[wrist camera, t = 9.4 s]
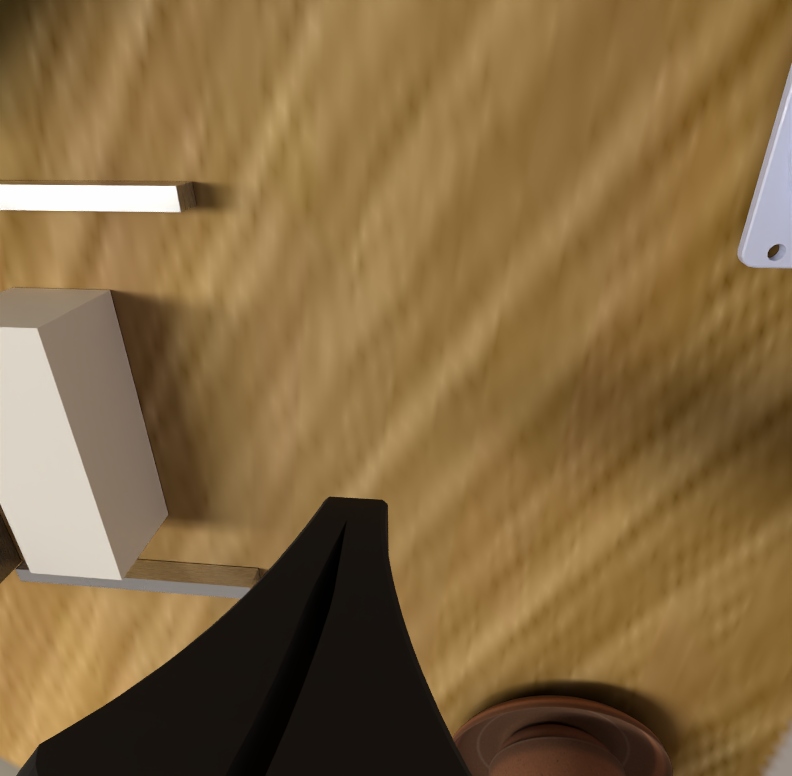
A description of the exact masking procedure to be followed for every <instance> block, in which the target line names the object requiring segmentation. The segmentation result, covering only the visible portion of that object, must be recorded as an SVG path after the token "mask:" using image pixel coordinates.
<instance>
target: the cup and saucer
mask: <svg viewBox="0 0 792 776" xmlns="http://www.w3.org/2000/svg"><path fill="white" fill-rule="evenodd" d="M453 740H454V743H455V744H456V746H457V748H458V750H459V752H460V754H461V756H462V758H463V760H464V762H465V763H466V765H467V767H468V769H469V771H470V773H471V774H472V776H673V768H672V763H671V760H670V758H669V756H668V754H667V752H666V750H665V748H664V746H663V745H662V743H661V742H660V740H659V739H658V738H657V736H656V735H655V734H654V733H653V732H652V731H651V730H650V729H648V728H647V727H646V726H645V725H643V724H642V723H640V722H639V721H637V720H636V719H634V718H632V717H631V716H629V715H627V714H625V713H623V712H622V711H620V710H617V709H615V708H613V707H611V706H608V705H605V704H602V703H599V702H595V701H592V700H587V699H583V698H577V697H570V696H555V695H545V696H530V697H524V698H518V699H513V700H509V701H506V702H503V703H499V704H497V705H494V706H492V707H490V708H487V709H485V710H483V711H482V712H480V713H478V714H477V715H475V716H474V717H473V718H471V719H470V720H469V721H468V722H467V723H465V724H464V725H463V726H462V727H461V728H460V729H459V730H458V731H457V732H456V733H455V735H454V736H453Z"/></svg>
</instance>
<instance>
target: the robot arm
mask: <svg viewBox="0 0 792 776" xmlns="http://www.w3.org/2000/svg"><path fill="white" fill-rule="evenodd" d="M776 244H779V251H778V252H777V254H776V255H774V256H773V257H770V258H768V257H767V255H768V251H769V249H770V248H771V247H772V246H774V245H776ZM738 258H739V260H740V261H741V262H742V263H743V264H745V265H747V266H749V267H754V268H792V64H791V67H790V71H789V74H788V78H787V81H786V85H785V88H784V92H783V95H782V99H781V102H780V106H779V109H778V112H777V116H776V119H775V123H774V126H773V130H772V133H771V137H770V140H769V144H768V147H767V151H766V154H765V157H764V161H763V164H762V168H761V171H760V175H759V178H758V182H757V185H756V189H755V192H754V195H753V199H752V202H751V206H750V209H749V213H748V216H747V220H746V223H745V227H744V230H743V234H742V237H741V240H740V244H739V247H738ZM17 776H472V774H471V773H470V771H469V769H468V767H467V765H466V763H465V762H464V760H463V758H462V756H461V754H460V752H459V750H458V748H457V746H456V744H455V743H454V740H453V738H452V736H451V734H450V732H449V730H448V728H447V726H446V724H445V722H444V720H443V718H442V716H441V714H440V712H439V709H438V707H437V705H436V702H435V700H434V698H433V696H432V693H431V691H430V689H429V686H428V684H427V682H426V679H425V677H424V675H423V672H422V670H421V667H420V665H419V662H418V659H417V657H416V654H415V651H414V649H413V646H412V643H411V640H410V637H409V634H408V631H407V629H406V625H405V622H404V619H403V616H402V612H401V609H400V605H399V601H398V598H397V594H396V590H395V586H394V582H393V577H392V572H391V567H390V561H389V555H388V504H387V503H386V502H384V501H383V500H375V499H359V498H343V497H328V498H327V499H326V500H325V501H324V502H323V504H322V505H321V507H320V508H319V509H318V511H317V512H316V513H315V515H314V516H313V517H312V519H311V520H310V521H309V523H308V524H307V525H306V527H305V528H304V529H303V530H302V532H301V533H300V534H299V535H298V537H297V538H296V539H295V540H294V541H293V543H292V544H291V545H290V546H289V547H288V549H287V550H286V551H285V552H284V553H283V554H282V556H281V557H280V558H279V559H278V560H277V561H276V563H275V564H274V565H273V566H272V567H271V568H270V569H269V570H268V571H267V572H266V573H265V574H264V576H263V577H262V578H261V579H260V580H259V581H258V582H257V583H256V584H255V585H254V586H253V587H252V588H251V589H250V590H249V591H248V592H247V593H246V594H245V595H244V596H243V597H242V598H241V599H240V600H239V601H238V602H237V603H236V604H235V605H234V606H233V607H232V608H231V609H230V610H229V611H228V612H227V613H225V614H224V615H223V616H222V617H221V618H220V619H219V620H218V621H217V622H215V623H214V624H213V625H212V626H211V627H210V628H209V629H207V630H206V631H205V632H204V633H203V634H201V635H200V636H199V637H198V638H197V639H195V640H194V641H193V642H192V643H190V644H189V645H188V646H187V647H186V648H184V649H183V650H182V651H181V652H179V653H178V654H177V655H176V656H174V657H173V658H172V659H170V660H169V661H168V662H166V663H165V664H164V665H162V666H161V667H160V668H158V669H157V670H155V671H154V672H153V673H151V674H150V675H148V676H147V677H145V678H144V679H143V680H141V681H140V682H138V683H137V684H136V685H134V686H133V687H131V688H130V689H128V690H127V691H126V692H124V693H123V694H121V695H120V696H118V697H117V698H115V699H114V700H112V701H111V702H109V703H108V704H106V705H105V706H103V707H101V708H100V709H98V710H96V711H95V712H93V713H91V714H90V715H88V716H86V717H85V718H83V719H82V720H80V721H78V722H77V723H75V724H73V725H72V726H70V727H68V728H67V729H65V730H63V731H62V732H60V733H58V734H57V735H55V736H53V737H51V738H50V739H48V740H46V741H44V742H43V743H41V744H39V746H38V747H37V749H36V750H35V751H34V753H33V754H32V755H31V757H30V758H29V759H28V760H27V762H26V763H25V764H24V766H23V767H22V768H21V770H20V771H19V772H18V774H17Z"/></svg>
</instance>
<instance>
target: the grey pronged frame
mask: <svg viewBox="0 0 792 776" xmlns="http://www.w3.org/2000/svg"><path fill="white" fill-rule="evenodd" d="M193 207H196V201H195V195H194V189H193V183H192V182H180V181H38V180H0V210H50V211H131V212H182V211H185V210H188V209H190V208H193ZM20 562H21V560H20V558H19V555H18V553H17V551H16V549H15V547H14V544H13V542H12V540H11V538H10V535H9V533H8V531H7V529H6V526H5V524H4V522H3V520H2V518H1V515H0V583H1V582H2V581H3V580H4V579H5V578H6V577H7V576H8V575H9V574H10V573H11V572H12V571H13V570H14V569H15V568H16V567H17V566H18V565H19V563H20ZM16 571H17V574H18V576H19V578H20V580H21V581H30V582H42V583H55V584H67V585H79V586H92V587H104V588H116V589H129V590H141V591H154V592H166V593H178V594H191V595H203V596H215V597H228V598H240V599H241V598H242V597H243V596H244V595H245V594H246V593H247V592H248V591H249V590H250V589H251V588H252V587H253V586H254V585H255V584H256V583H257V582H258V581H259V580H260V576H259V570H258V568H245V567H232V566H218V565H205V564H192V563H178V562H165V561H152V560H139V559H137V560H136V561H135V563H134V564H133V565H132V567H131V568H130V570H129V571H128V572H127V574H126V575H125V577H124V578H123V579H122V580H113V579H100V578H87V577H75V576H62V575H50V574H37V573H31V572H30V570H29V568H28V565H27V563H26V561H25V560H24V561H23V562H22V563H21V564H20V565H19V566H18V567H17V568H16Z"/></svg>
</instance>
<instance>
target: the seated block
mask: <svg viewBox="0 0 792 776" xmlns="http://www.w3.org/2000/svg"><path fill="white" fill-rule="evenodd" d="M0 504H1V507H2V509H3V511H4V513H5V516H6V518H7V520H8V522H9V525H10V527H11V529H12V531H13V534H14V536H15V538H16V541H17V543H18V545H19V547H20V550H21V552H22V554H23V556H24V559H25V561H26V563H27V565H28V568H29V570H30V572H31V573H37V574H50V575H62V576H75V577H87V578H100V579H113V580H122V579H123V578H124V577H125V575H126V574H127V572H128V571H129V570H130V568H131V567H132V565H133V564H134V563H135V561H136V560H137V558H138V557H139V555H140V554H141V553H142V551H143V550H144V548H145V547H146V546H147V544H148V543H149V541H150V540H151V539H152V537H153V536H154V534H155V533H156V532H157V530H158V529H159V527H160V526H161V525H162V523H163V522H164V520H165V519H166V517H167V516H168V511H167V507H166V504H165V500H164V496H163V492H162V488H161V484H160V481H159V477H158V473H157V469H156V465H155V461H154V458H153V454H152V450H151V446H150V442H149V438H148V435H147V431H146V427H145V423H144V419H143V415H142V411H141V408H140V404H139V400H138V396H137V392H136V388H135V385H134V381H133V377H132V373H131V369H130V365H129V362H128V358H127V354H126V350H125V346H124V342H123V339H122V335H121V331H120V327H119V323H118V319H117V316H116V312H115V308H114V304H113V300H112V296H111V293H110V290H87V289H49V288H10V289H7V290H5V291H2V292H0Z"/></svg>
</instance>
